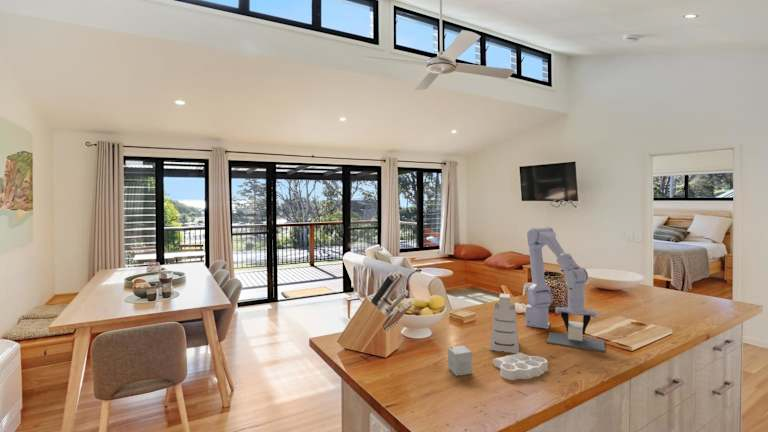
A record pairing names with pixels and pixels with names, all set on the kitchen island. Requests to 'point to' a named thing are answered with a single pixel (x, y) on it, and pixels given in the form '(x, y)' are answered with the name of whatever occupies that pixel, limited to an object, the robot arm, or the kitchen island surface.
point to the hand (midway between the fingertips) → (575, 332)
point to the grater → (504, 326)
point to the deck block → (575, 330)
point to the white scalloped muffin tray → (521, 366)
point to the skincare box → (460, 360)
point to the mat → (576, 342)
